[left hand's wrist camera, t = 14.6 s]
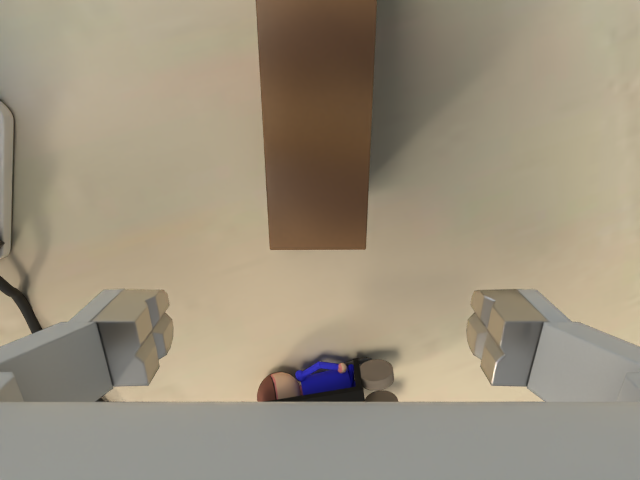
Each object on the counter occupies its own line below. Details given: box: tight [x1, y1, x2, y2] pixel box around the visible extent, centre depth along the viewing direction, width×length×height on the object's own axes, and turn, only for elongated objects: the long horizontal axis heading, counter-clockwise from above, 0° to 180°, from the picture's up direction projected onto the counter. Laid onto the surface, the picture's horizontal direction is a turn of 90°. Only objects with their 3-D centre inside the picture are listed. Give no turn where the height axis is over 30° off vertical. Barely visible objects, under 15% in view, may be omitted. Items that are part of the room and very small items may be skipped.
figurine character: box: [257, 357, 398, 402], centre depth 41 cm, size 7×8×15 cm
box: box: [256, 0, 377, 250], centre depth 26 cm, size 22×6×13 cm, turn 0°
